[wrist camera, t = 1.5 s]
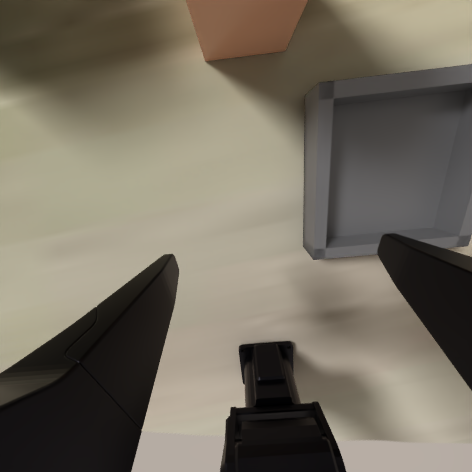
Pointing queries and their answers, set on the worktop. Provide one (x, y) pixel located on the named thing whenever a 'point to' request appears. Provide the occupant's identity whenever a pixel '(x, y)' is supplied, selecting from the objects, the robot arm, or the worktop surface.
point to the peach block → (244, 26)
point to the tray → (388, 161)
